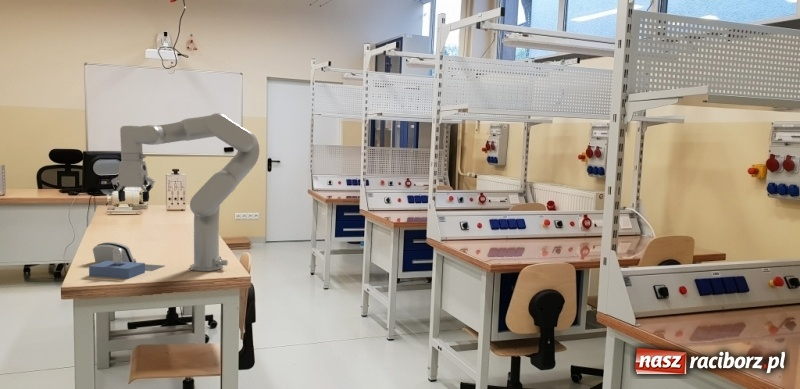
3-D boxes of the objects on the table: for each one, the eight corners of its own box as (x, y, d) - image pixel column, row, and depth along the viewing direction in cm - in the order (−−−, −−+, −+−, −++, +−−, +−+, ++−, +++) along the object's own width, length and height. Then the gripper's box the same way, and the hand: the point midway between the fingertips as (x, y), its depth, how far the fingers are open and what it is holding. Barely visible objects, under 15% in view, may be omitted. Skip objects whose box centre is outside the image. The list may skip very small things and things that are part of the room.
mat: (166, 266, 231) (166, 265, 231) (151, 271, 222) (151, 271, 222) (134, 264, 233) (134, 263, 233) (118, 269, 224) (118, 268, 224)
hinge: (137, 262, 236) (131, 241, 232) (129, 268, 232) (123, 247, 228) (104, 259, 241) (97, 238, 237) (95, 265, 237) (89, 244, 232)
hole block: (144, 273, 219) (144, 263, 218) (128, 279, 209) (128, 268, 209) (106, 270, 221) (106, 260, 221) (89, 276, 211) (89, 266, 211)
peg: (123, 274, 216) (123, 248, 215) (118, 276, 213) (118, 249, 212) (116, 273, 217) (116, 247, 216) (111, 275, 214) (111, 249, 213)
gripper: (158, 157, 224) (160, 200, 226) (116, 157, 226) (118, 200, 227) (148, 158, 217) (150, 202, 218) (105, 157, 218) (107, 202, 220)
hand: (133, 201), depth 223 cm, fingers open, 9 cm apart
